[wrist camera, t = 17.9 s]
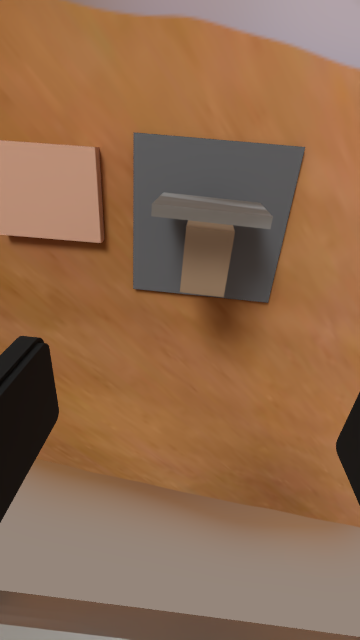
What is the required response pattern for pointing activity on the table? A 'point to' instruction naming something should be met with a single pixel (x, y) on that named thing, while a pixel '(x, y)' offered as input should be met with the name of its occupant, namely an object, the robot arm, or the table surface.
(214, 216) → the brown grey block
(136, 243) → the mat
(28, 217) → the tile
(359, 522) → the table surface
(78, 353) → the table surface
